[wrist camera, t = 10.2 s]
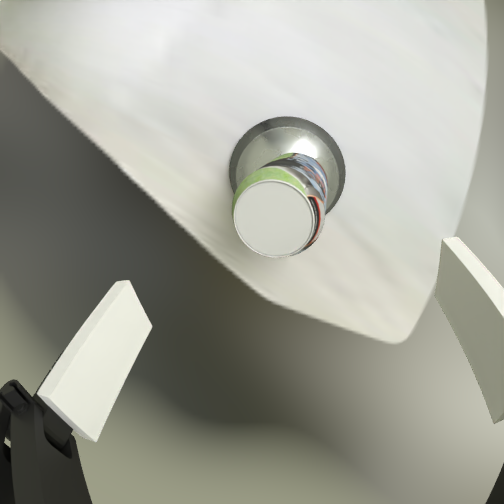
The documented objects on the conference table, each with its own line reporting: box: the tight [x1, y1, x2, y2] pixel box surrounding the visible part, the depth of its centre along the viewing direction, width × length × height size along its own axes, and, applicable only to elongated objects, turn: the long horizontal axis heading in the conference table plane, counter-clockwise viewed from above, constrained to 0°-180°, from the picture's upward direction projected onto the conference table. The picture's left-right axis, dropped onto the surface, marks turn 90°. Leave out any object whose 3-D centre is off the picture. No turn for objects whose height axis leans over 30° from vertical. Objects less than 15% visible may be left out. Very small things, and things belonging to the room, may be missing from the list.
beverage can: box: [232, 152, 328, 258], centre depth 22 cm, size 6×7×12 cm
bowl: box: [230, 117, 345, 215], centre depth 29 cm, size 12×12×2 cm
